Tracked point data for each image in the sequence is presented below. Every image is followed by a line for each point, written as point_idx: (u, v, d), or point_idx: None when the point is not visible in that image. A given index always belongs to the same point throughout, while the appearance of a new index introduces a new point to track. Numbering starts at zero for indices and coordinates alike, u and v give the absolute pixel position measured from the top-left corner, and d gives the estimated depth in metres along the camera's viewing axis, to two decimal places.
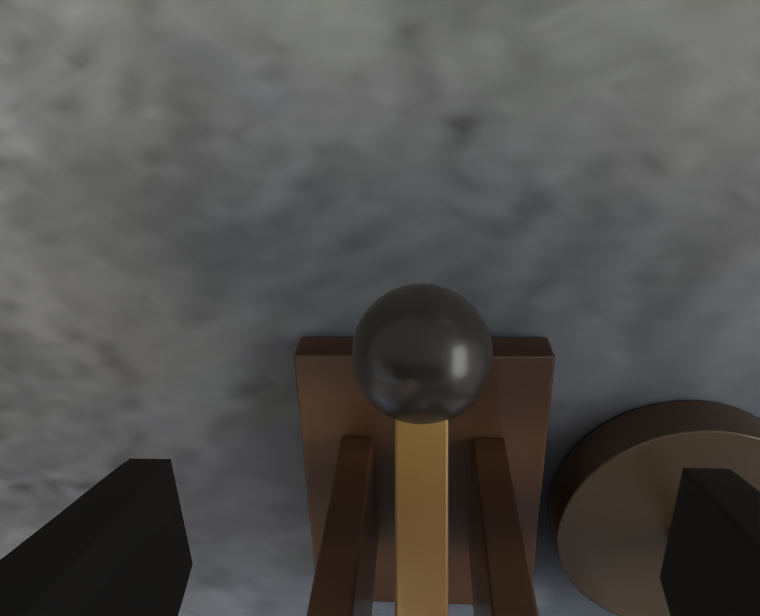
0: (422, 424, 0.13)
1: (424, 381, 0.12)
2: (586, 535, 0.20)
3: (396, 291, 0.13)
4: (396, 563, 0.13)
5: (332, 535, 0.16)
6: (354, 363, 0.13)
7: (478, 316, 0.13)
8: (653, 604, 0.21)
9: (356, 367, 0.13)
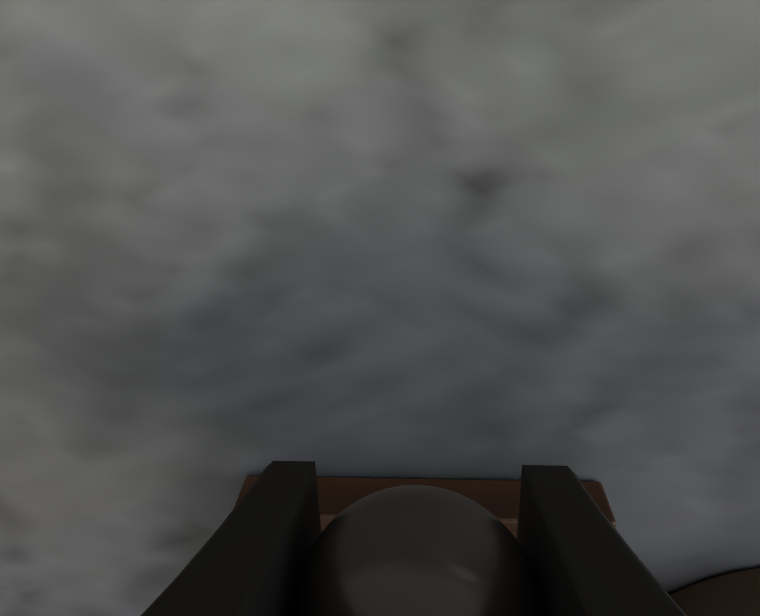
0: None
1: None
2: None
3: (371, 515, 0.07)
4: None
5: None
6: None
7: (520, 564, 0.07)
8: None
9: None
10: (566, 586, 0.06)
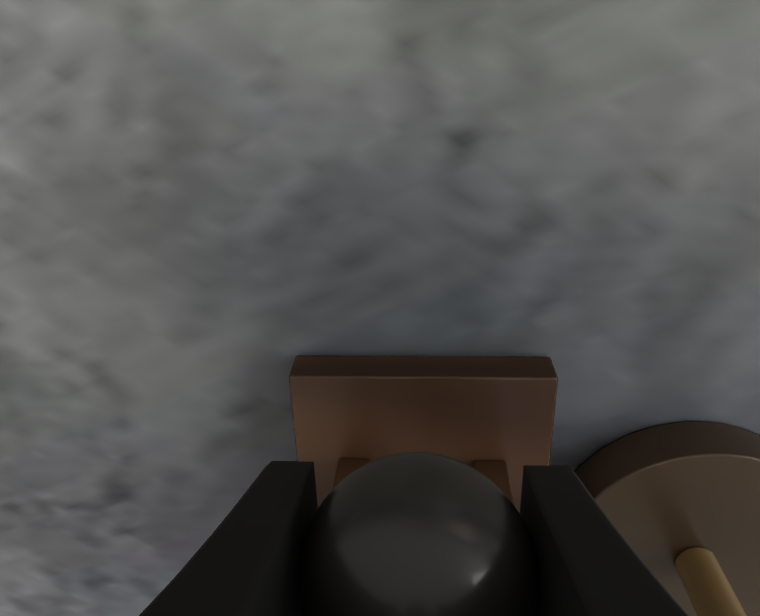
0: None
1: None
2: None
3: (368, 549, 0.07)
4: None
5: None
6: None
7: (521, 579, 0.07)
8: None
9: None
10: (568, 586, 0.06)
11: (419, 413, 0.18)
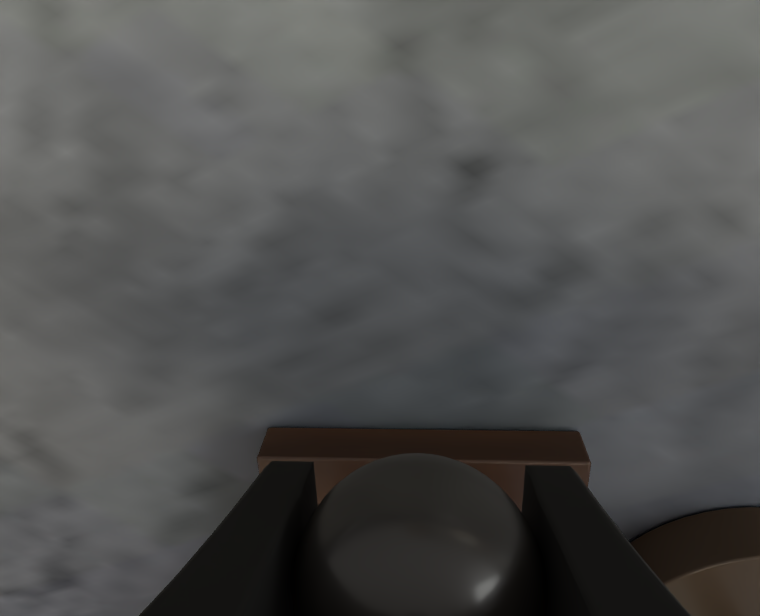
0: None
1: None
2: None
3: (369, 501, 0.07)
4: None
5: None
6: None
7: (524, 547, 0.07)
8: None
9: None
10: (570, 586, 0.06)
11: None
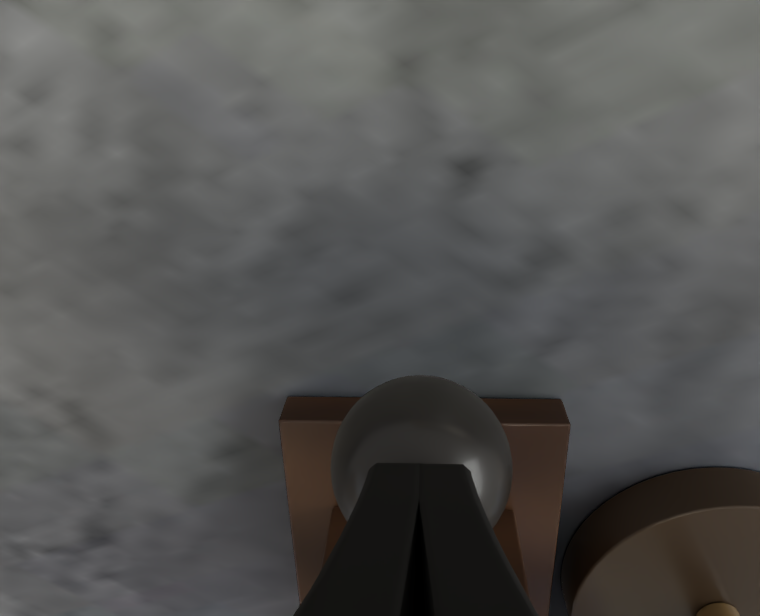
0: None
1: None
2: (603, 614, 0.18)
3: (387, 395, 0.10)
4: None
5: None
6: (333, 487, 0.10)
7: (495, 428, 0.10)
8: None
9: (336, 493, 0.10)
10: (428, 582, 0.07)
11: None
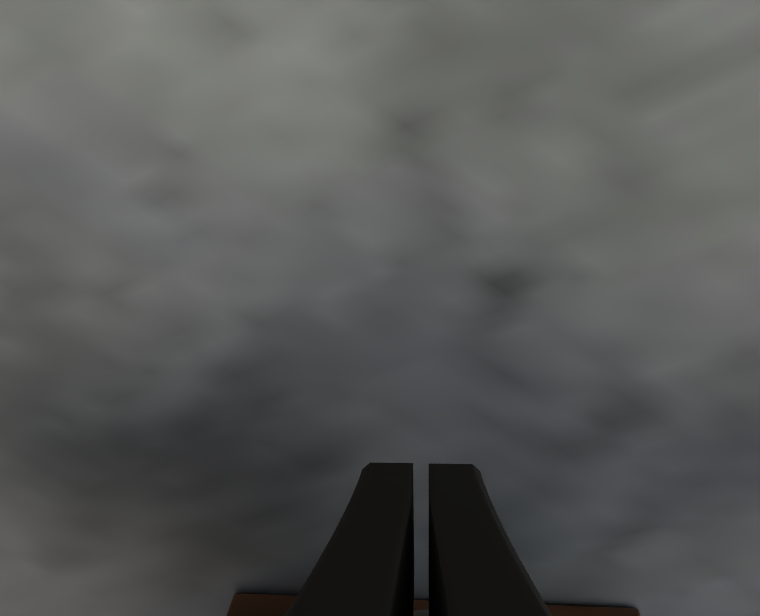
0: None
1: None
2: None
3: None
4: None
5: None
6: None
7: None
8: None
9: None
10: (441, 582, 0.07)
11: None
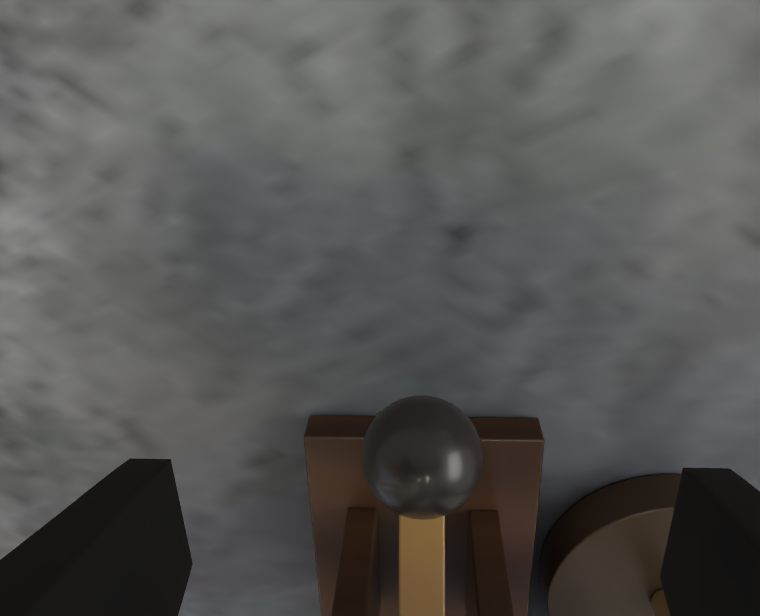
0: (422, 520, 0.15)
1: (424, 485, 0.14)
2: (574, 597, 0.22)
3: (400, 403, 0.15)
4: None
5: (340, 613, 0.17)
6: (364, 465, 0.15)
7: (470, 426, 0.15)
8: None
9: (365, 469, 0.15)
10: None
11: None
